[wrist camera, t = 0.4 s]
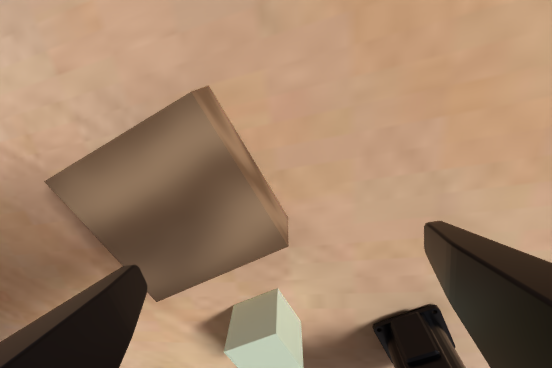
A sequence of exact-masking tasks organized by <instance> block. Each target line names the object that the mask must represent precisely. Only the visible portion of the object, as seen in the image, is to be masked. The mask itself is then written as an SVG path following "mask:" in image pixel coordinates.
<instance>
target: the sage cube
mask: <svg viewBox="0 0 552 368" xmlns="http://www.w3.org/2000/svg"><path fill="white" fill-rule="evenodd" d="M224 353H225V354H226V355H227V356H228V357H229V358H230V360H231V361H232V362H233V363H234V364H235V365H236V366H237V367H238V368H304V367H303V349H302V331H301V321H300V320H299V318H298V317H297V315H296V314H295V312H294V311H293V309H292V308H291V307H290V305H289V304H288V302H287V301H286V299H285V298H284V296H283V295H282V294H281V292H280V291H279V289H278V288H277V289H274V290H272V291H269V292H266V293H264V294H261V295H259V296H256V297H254V298H251V299H248V300H246V301H243V302H241V303H238V304H236V305H234V306H233V311H232V315H231V320H230V325H229V329H228V334H227V339H226V344H225V348H224Z"/></svg>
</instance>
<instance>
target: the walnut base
mask: <svg viewBox="0 0 552 368" xmlns="http://www.w3.org/2000/svg"><path fill="white" fill-rule="evenodd" d="M44 182H45V183H46V184H47V185H48V186H49V187H50V188H51V189H52V190H53V191H54V192H55V194H56V195H57V196H58V197H59V198H60V199H61V200H62V201H63V202H64V203H65V204H66V205H67V206H68V207H69V209H70V210H71V211H72V212H73V213H74V214H75V215H76V216H77V217H78V218H79V219H80V220H81V221H82V223H83V224H84V225H85V226H86V227H87V228H88V229H89V230H90V231H91V232H92V233H93V234H94V235H95V236H96V238H97V239H98V240H99V241H100V242H101V243H102V244H103V245H104V246H105V247H106V248H107V249H108V250H109V252H110V253H111V254H112V255H113V256H114V257H115V258H116V259H117V260H118V261H119V262H120V263H121V264H122V265H123V266H127V265H137V266H138V267H139V268H140V270H141V272H142V274H143V276H144V278H145V280H146V283H147V288H148V289H147V292H148V293H149V294H150V296H151V297H152V298H153V299H154V300H155V301H156V302H158V301H160V300H163V299H165V298H167V297H170V296H172V295H174V294H177V293H179V292H182V291H184V290H186V289H189V288H191V287H193V286H196V285H198V284H200V283H203V282H205V281H208V280H210V279H212V278H215V277H217V276H219V275H222V274H224V273H227V272H229V271H231V270H234V269H236V268H238V267H241V266H243V265H245V264H248V263H250V262H253V261H255V260H257V259H260V258H262V257H264V256H267V255H269V254H272V253H274V252H276V251H279V250H281V249H283V248H286V247H288V217H287V215H286V213H285V212H284V210H283V208H282V207H281V205H280V203H279V202H278V200H277V198H276V197H275V195H274V193H273V192H272V190H271V189H270V187H269V185H268V184H267V182H266V180H265V179H264V177H263V175H262V174H261V172H260V170H259V169H258V167H257V165H256V164H255V162H254V160H253V159H252V157H251V155H250V154H249V152H248V150H247V149H246V147H245V145H244V144H243V142H242V140H241V139H240V137H239V135H238V134H237V132H236V130H235V129H234V127H233V125H232V124H231V122H230V120H229V119H228V117H227V115H226V114H225V112H224V110H223V109H222V107H221V105H220V104H219V102H218V100H217V99H216V97H215V95H214V94H213V92H212V90H211V89H210V87H209V86H206V87H204V88H201V89H198V90H195V91H192V92H190V93H188V94H187V95H185V96H184V97H182V98H180V99H179V100H177V101H175V102H174V103H172V104H170V105H169V106H167V107H166V108H164V109H162V110H161V111H159V112H157V113H156V114H154V115H152V116H151V117H149V118H148V119H146V120H144V121H143V122H141V123H139V124H138V125H136V126H134V127H133V128H131V129H129V130H128V131H126V132H125V133H123V134H121V135H120V136H118V137H116V138H115V139H113V140H111V141H110V142H108V143H107V144H105V145H103V146H102V147H100V148H98V149H97V150H95V151H93V152H92V153H90V154H89V155H87V156H85V157H84V158H82V159H80V160H79V161H77V162H75V163H74V164H72V165H70V166H69V167H67V168H66V169H64V170H62V171H61V172H59V173H57V174H56V175H54V176H52V177H51V178H49V179H48V180H46V181H44Z"/></svg>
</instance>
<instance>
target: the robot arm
mask: <svg viewBox="0 0 552 368" xmlns="http://www.w3.org/2000/svg"><path fill="white" fill-rule="evenodd" d="M424 249H425V253H426V255H427V257H428V259H429V262H430V264H431V266H432V268H433V270H434V272H435V274H436V276H437V278H438V280H439V282H440V284H441V286H442V288H443V290H444V292H445V294H446V296H447V298H448V300H449V302H450V304H451V305H452V307H453V309H454V310H455V312H456V314H457V315H458V317H459V318H460V320H461V322H462V323H463V325H464V326H465V328H466V329H467V331H468V333H469V334H470V336H471V337H472V339H473V341H474V342H475V344H476V345H477V347H478V348H479V350H480V352H481V353H482V355H483V356H484V358H485V360H486V361H487V363H488V364H489V366H490V367H491V368H552V263H550V262H548V261H545V260H542V259H540V258H537V257H535V256H532V255H529V254H527V253H524V252H521V251H519V250H516V249H514V248H511V247H508V246H506V245H503V244H500V243H498V242H495V241H493V240H490V239H487V238H485V237H482V236H479V235H477V234H474V233H471V232H469V231H466V230H464V229H461V228H458V227H456V226H453V225H450V224H448V223H445V222H443V221H434V222H428V223H426V224H425V226H424ZM147 289H148V288H147V283H146V280H145V278H144V276H143V274H142V272H141V270H140V268H139V267H138V266H137V265H127V266H123V267H121V268H120V269H118V270H116V271H115V272H113V273H111V274H110V275H108V276H107V277H105V278H103V279H102V280H100V281H99V282H97V283H95V284H94V285H92V286H90V287H89V288H87V289H86V290H84V291H82V292H81V293H79V294H77V295H76V296H74V297H73V298H71V299H69V300H68V301H66V302H64V303H63V304H61V305H60V306H58V307H56V308H55V309H53V310H52V311H50V312H48V313H47V314H45V315H43V316H42V317H40V318H39V319H37V320H35V321H34V322H32V323H30V324H29V325H27V326H26V327H24V328H22V329H21V330H19V331H18V332H16V333H14V334H13V335H11V336H9V337H8V338H6V339H5V340H3V341H1V342H0V368H119V367H120V364H121V362H122V360H123V357H124V355H125V353H126V350H127V348H128V346H129V343H130V341H131V338H132V336H133V333H134V330H135V327H136V324H137V321H138V318H139V315H140V312H141V309H142V306H143V303H144V300H145V297H146V293H147ZM373 329H374V332H375V333H376V335H377V337H378V339H379V340H380V342H381V344H382V346H383V348H384V349H385V351H386V353H387V355H388V356H389V358H390V360H391V362H392V363H393V365H394V367H395V368H466V367H465V366H464V364H463V362H462V361H461V359H460V357H459V355H458V354H457V352H456V350H455V344H454V342H453V339H452V337H451V335H450V332H449V330H448V328H447V325H446V323H445V321H444V318H443V316H442V314H441V311H440V309H439V308H438V306H437V305H430V306H427V307H424V308H421V309H418V310H415V311H412V312H409V313H406V314H403V315H400V316H397V317H394V318H391V319H388V320H385V321H382V322H379V323H376V324H374V325H373Z"/></svg>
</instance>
